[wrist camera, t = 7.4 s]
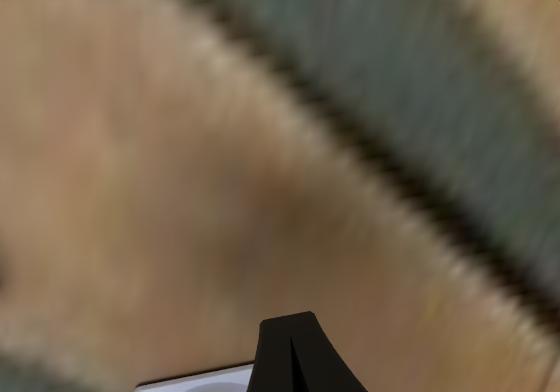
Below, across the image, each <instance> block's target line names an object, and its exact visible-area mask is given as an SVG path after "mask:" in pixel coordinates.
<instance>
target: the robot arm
mask: <svg viewBox="0 0 560 392" xmlns="http://www.w3.org/2000/svg"><path fill="white" fill-rule="evenodd" d="M134 392H368V391H367V390H366V389H365V388H364V387H363V386H362V384H361V383H360V382H359V381H358V379H357V378H356V377H355V376H354V374H353V373H352V372H351V370H350V369H349V368H348V367H347V365H346V364H345V363H344V361H343V360H342V359H341V357H340V356H339V354H338V353H337V352H336V350H335V349H334V347H333V346H332V344H331V343H330V341H329V340H328V338H327V337H326V335H325V333H324V332H323V330H322V328H321V326H320V324H319V322H318V321H317V318H316V316H315V314H314V313H312V312H311V311H307V312H302V313H297V314H292V315H287V316H282V317H276V318H271V319H266V320H263V321H262V322H261V323H260V331H259V340H258V346H257V351H256V356H255V361H254V364H250V365H245V366H240V367H235V368H230V369H225V370H220V371H215V372H210V373H205V374H200V375H195V376H190V377H184V378H179V379H174V380H169V381H164V382H159V383H154V384H149V385H144V386H140V387H137V388H136V389H135V390H134Z"/></svg>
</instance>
